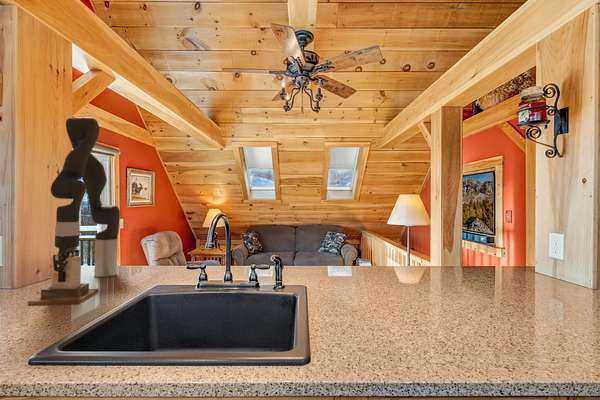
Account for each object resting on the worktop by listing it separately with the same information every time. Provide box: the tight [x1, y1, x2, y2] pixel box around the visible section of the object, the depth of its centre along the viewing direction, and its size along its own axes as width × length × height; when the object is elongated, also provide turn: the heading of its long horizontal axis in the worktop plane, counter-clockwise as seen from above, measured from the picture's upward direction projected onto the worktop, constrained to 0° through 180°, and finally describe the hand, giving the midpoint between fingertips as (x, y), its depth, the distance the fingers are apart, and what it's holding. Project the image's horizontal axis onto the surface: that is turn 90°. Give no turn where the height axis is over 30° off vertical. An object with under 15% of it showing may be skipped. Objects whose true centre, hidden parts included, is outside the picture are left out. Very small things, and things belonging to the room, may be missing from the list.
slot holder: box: [27, 282, 99, 306], centre depth 128 cm, size 16×16×4 cm
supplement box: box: [50, 255, 82, 289], centre depth 128 cm, size 8×5×13 cm, turn 84°
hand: (66, 279), depth 128 cm, fingers closed on supplement box, 5 cm apart
